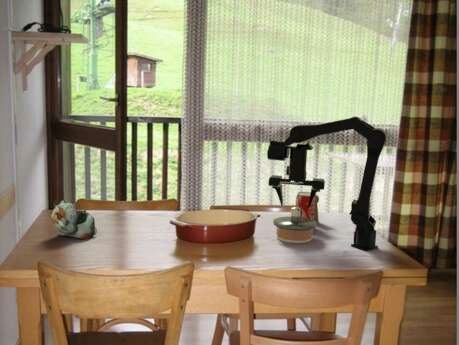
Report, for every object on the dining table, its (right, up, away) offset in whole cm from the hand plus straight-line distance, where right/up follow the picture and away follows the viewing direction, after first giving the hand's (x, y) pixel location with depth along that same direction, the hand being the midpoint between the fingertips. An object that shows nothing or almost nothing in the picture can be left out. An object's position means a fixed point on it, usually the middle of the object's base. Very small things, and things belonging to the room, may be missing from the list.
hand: (295, 206), depth 182 cm
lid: (0, -6, +1) cm, 6 cm away
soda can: (+5, -9, +16) cm, 19 cm away
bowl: (0, -11, +2) cm, 11 cm away
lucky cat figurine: (-75, -10, -3) cm, 76 cm away
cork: (+9, -8, +24) cm, 27 cm away
